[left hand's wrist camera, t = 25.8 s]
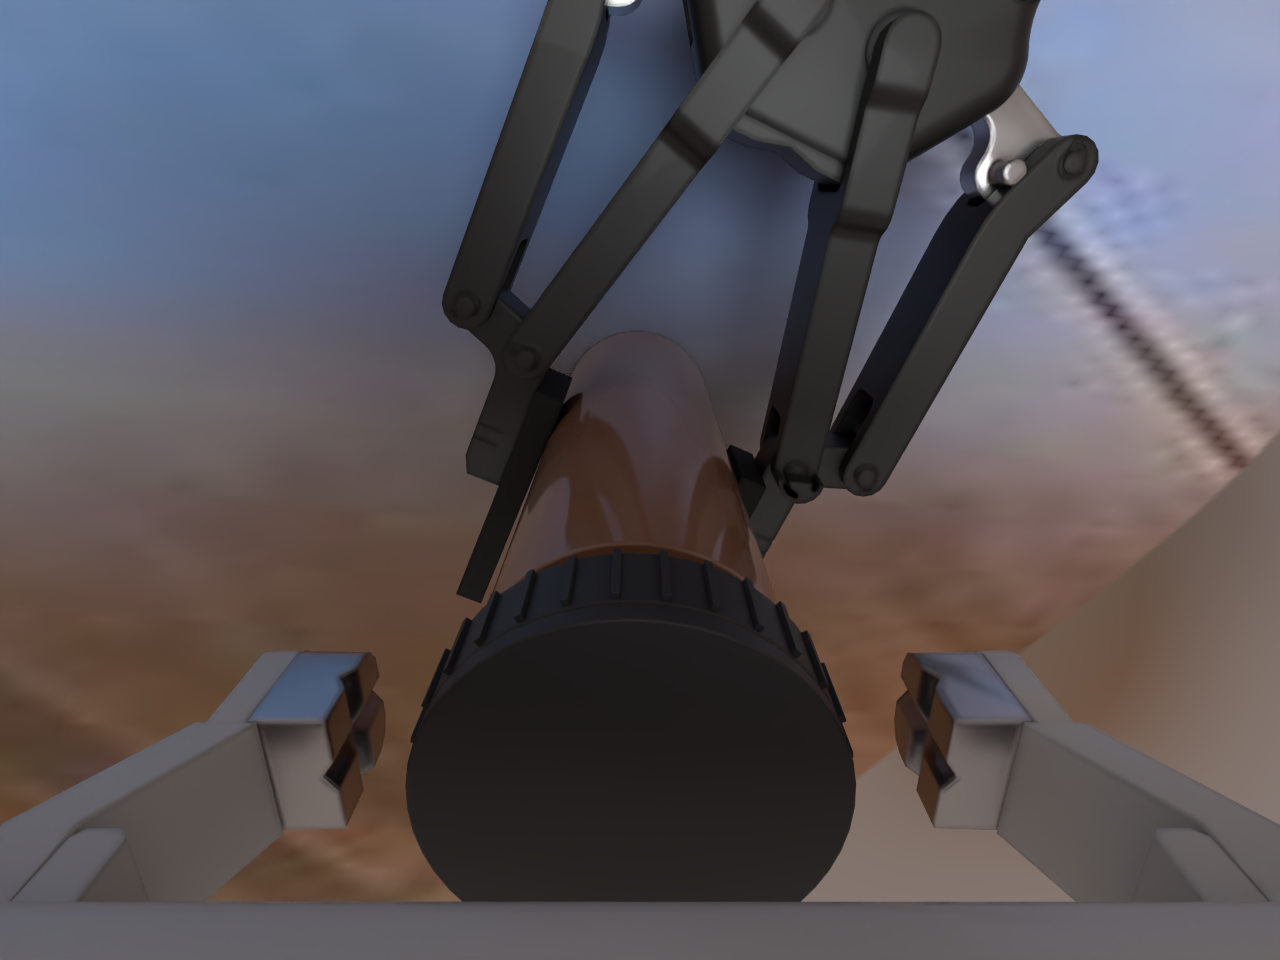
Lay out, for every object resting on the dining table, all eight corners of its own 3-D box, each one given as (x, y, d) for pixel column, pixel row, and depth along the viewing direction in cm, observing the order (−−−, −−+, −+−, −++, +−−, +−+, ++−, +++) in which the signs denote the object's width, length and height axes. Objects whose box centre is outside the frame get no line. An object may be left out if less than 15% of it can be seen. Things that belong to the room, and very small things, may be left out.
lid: (911, 718, 11) (957, 808, 9) (634, 915, 12) (633, 1019, 11) (628, 459, 9) (626, 514, 8) (353, 723, 11) (305, 812, 9)
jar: (714, 337, 26) (849, 609, 9) (697, 471, 28) (782, 893, 11) (571, 324, 26) (446, 578, 9) (563, 459, 27) (448, 871, 11)
